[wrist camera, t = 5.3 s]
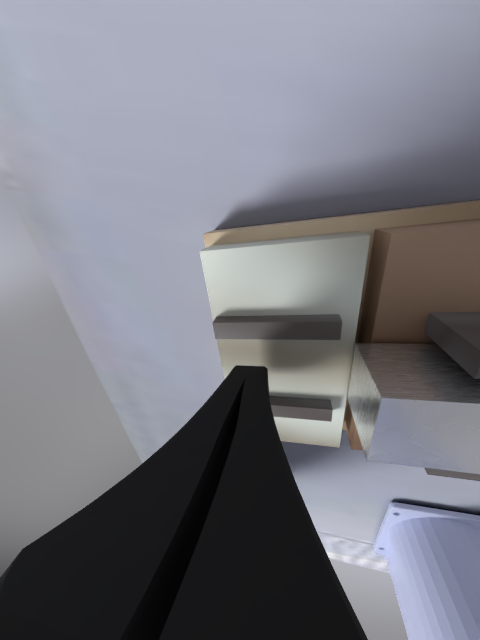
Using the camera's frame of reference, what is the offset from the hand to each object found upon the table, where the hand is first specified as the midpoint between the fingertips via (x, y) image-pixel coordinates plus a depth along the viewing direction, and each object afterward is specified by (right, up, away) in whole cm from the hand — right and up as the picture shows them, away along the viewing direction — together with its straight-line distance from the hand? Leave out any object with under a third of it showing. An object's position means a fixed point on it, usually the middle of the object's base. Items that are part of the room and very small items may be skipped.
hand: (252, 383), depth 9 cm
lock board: (+5, +2, +3) cm, 6 cm away
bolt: (+7, +1, -1) cm, 7 cm away
